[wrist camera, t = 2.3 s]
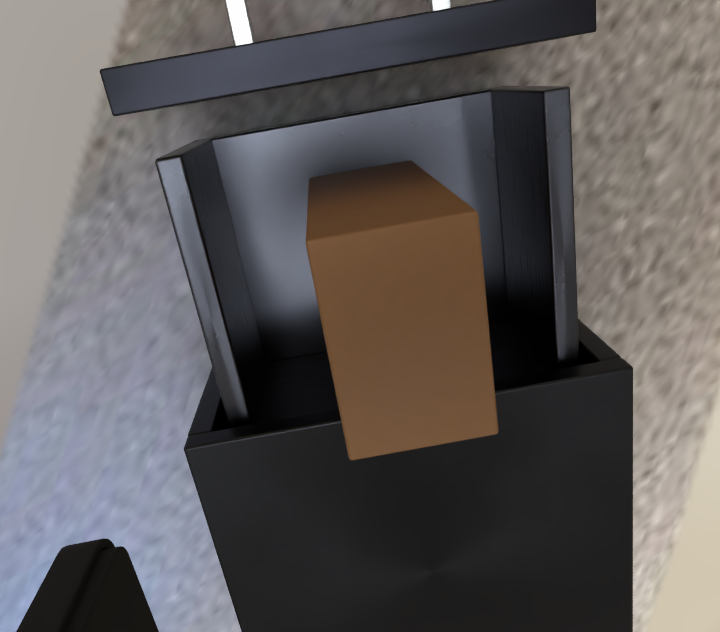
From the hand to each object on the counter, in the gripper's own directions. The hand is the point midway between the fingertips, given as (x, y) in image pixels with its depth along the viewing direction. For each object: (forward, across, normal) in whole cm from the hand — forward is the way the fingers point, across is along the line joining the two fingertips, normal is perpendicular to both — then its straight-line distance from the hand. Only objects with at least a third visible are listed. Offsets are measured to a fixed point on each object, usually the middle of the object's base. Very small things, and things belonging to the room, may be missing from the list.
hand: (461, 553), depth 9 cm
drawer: (+18, -1, -4) cm, 18 cm away
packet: (+17, 0, 0) cm, 17 cm away
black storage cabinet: (+19, 0, +10) cm, 21 cm away
